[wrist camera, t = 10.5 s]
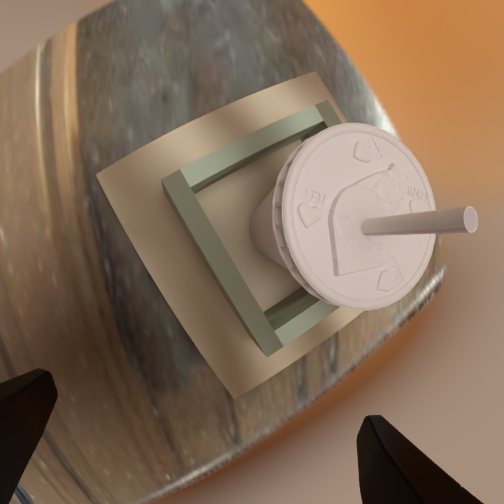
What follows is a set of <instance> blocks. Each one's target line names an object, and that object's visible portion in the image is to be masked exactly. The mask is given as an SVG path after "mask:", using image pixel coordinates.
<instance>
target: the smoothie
mask: <svg viewBox="0 0 504 504" xmlns="http://www.w3.org/2000/svg"><path fill="white" fill-rule="evenodd" d="M477 225H478V217H477V213H476V211H475V209H474V208H473V207H470V206H469V207H461V208H452V209H443V210H436V208H435V202H434V198H433V193H432V190H431V187H430V184H429V181H428V179H427V176H426V174H425V173H424V171H423V169H422V167H421V165H420V164H419V162H418V161H417V159H416V158H415V156H414V155H413V154H412V153H411V151H410V150H409V149H408V148H407V147H406V146H405V145H404V144H403V143H402V142H400V141H399V140H398V139H397V138H395V137H394V136H392V135H391V134H389V133H388V132H386V131H384V130H382V129H380V128H377V127H374V126H371V125H367V124H362V123H344V124H339V125H335V126H332V127H329V128H327V129H325V130H323V131H321V132H319V133H318V134H316V135H314V136H312V137H310V138H308V139H306V140H304V141H303V142H302V143H301V144H300V145H299V146H298V147H297V148H296V149H295V150H294V151H293V152H292V153H291V154H290V155H289V157H288V159H287V160H286V162H285V164H284V166H283V167H282V169H281V171H280V173H279V175H278V177H277V181H276V186H275V187H274V188H273V189H272V191H271V192H270V193H269V194H268V195H267V196H266V198H265V199H264V200H263V201H262V202H261V204H260V205H259V206H258V207H257V208H256V210H255V211H254V213H253V215H252V217H251V221H250V235H251V238H252V241H253V243H254V245H255V246H256V248H257V249H258V250H259V251H260V252H261V253H263V254H264V255H266V256H267V257H269V258H270V259H272V260H274V261H275V262H277V263H278V264H280V265H282V266H283V267H285V268H286V269H288V270H289V271H290V273H291V275H292V276H293V277H294V278H295V279H296V280H297V281H298V282H299V283H300V284H301V285H302V286H303V287H304V288H305V289H306V290H307V292H308V293H310V294H311V295H313V296H315V297H317V298H319V299H320V300H322V301H324V302H326V303H328V304H330V305H335V306H340V307H344V308H348V309H352V310H375V309H379V308H383V307H386V306H388V305H390V304H392V303H394V302H396V301H398V300H399V299H401V298H402V297H403V296H405V295H406V294H407V293H408V292H409V291H410V290H411V289H412V288H413V287H414V286H415V285H416V283H417V282H418V281H419V279H420V278H421V276H422V275H423V273H424V271H425V269H426V267H427V265H428V263H429V260H430V257H431V255H432V251H433V247H434V242H435V236H436V234H442V233H472V232H474V231H475V230H476V228H477Z"/></svg>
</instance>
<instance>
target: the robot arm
mask: <svg viewBox="0 0 504 504" xmlns="http://www.w3.org/2000/svg"><path fill="white" fill-rule="evenodd" d="M57 397H58V393H57V389H56V386H55V383H54V380H53V376H52V374H51V373H50V372H49V371H47V370H44V369H40V368H39V369H36V370H33V371H31V372H28V373H25V374H23V375H20V376H18V377H15V378H13V379H10V380H7V381H5V382H2V383H0V504H9V502H10V500H11V498H12V496H13V493H14V491H15V489H16V487H17V485H18V483H19V481H20V478H21V476H22V474H23V472H24V470H25V468H26V466H27V464H28V462H29V460H30V458H31V456H32V454H33V452H34V450H35V448H36V446H37V445H38V443H39V441H40V439H41V437H42V434H43V432H44V430H45V427H46V425H47V422H48V420H49V417H50V415H51V412H52V410H53V408H54V405H55V403H56V400H57ZM357 455H358V469H359V484H360V492H361V497H362V503H363V504H484V503H482V502H481V501H480V500H478V499H477V498H476V497H475V496H473V495H472V494H471V493H470V492H468V491H467V490H466V489H465V488H463V487H461V485H460V484H459V483H457V482H456V481H455V480H454V479H453V478H452V477H450V476H449V475H448V474H447V473H446V472H445V471H443V470H442V469H441V468H440V467H439V466H438V465H437V464H435V463H434V462H433V461H432V460H431V459H430V458H428V457H427V456H426V455H425V454H424V453H423V452H422V451H421V450H419V449H418V448H417V447H416V446H415V445H414V444H413V443H411V442H410V441H409V440H408V439H407V438H406V437H405V436H404V435H403V434H401V433H400V432H399V431H398V430H397V429H396V428H395V427H394V426H392V425H391V424H390V423H389V422H388V421H387V420H386V419H385V418H384V417H382V416H381V415H368V416H366V417H365V418H364V421H363V423H362V425H361V428H360V430H359V433H358V435H357Z"/></svg>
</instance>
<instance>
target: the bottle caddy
mask: <svg viewBox="0 0 504 504" xmlns="http://www.w3.org/2000/svg"><path fill="white" fill-rule="evenodd" d="M344 123H347V121H346V119H345V117H344V116H343V114H342V112H341V111H340V109H339V107H338V106H337V104H336V103H335V101H334V99H333V98H332V96H331V95H330V93H329V91H328V90H327V88H326V87H325V85H324V84H323V82H322V80H321V79H320V77H319V76H318V74H317V73H316V71H314V72H311V73H308V74H305V75H303V76H300V77H297V78H294V79H291V80H288V81H286V82H283V83H280V84H278V85H275V86H272V87H270V88H267V89H264V90H262V91H259V92H257V93H254V94H252V95H249V96H247V97H245V98H242V99H240V100H238V101H235V102H233V103H231V104H228V105H226V106H224V107H221V108H219V109H217V110H215V111H213V112H210V113H208V114H206V115H204V116H202V117H200V118H198V119H196V120H193V121H191V122H189V123H187V124H185V125H183V126H181V127H179V128H177V129H175V130H173V131H171V132H169V133H168V134H166V135H164V136H162V137H160V138H158V139H156V140H154V141H152V142H151V143H149V144H147V145H145V146H143V147H141V148H140V149H138V150H136V151H134V152H133V153H131V154H129V155H127V156H126V157H124V158H122V159H120V160H119V161H117V162H115V163H114V164H112V165H110V166H109V167H107V168H105V169H104V170H102V171H101V172H99V173H97V174H96V176H97V178H98V180H99V182H100V184H101V186H102V188H103V190H104V192H105V194H106V196H107V198H108V200H109V202H110V204H111V206H112V208H113V210H114V212H115V213H116V215H117V217H118V219H119V221H120V223H121V225H122V226H123V228H124V230H125V232H126V234H127V235H128V237H129V239H130V241H131V243H132V244H133V246H134V248H135V250H136V251H137V253H138V255H139V256H140V258H141V260H142V262H143V263H144V265H145V267H146V268H147V270H148V272H149V273H150V275H151V277H152V278H153V280H154V282H155V283H156V285H157V287H158V288H159V290H160V292H161V293H162V295H163V296H164V298H165V300H166V301H167V303H168V304H169V306H170V307H171V309H172V311H173V312H174V314H175V315H176V317H177V318H178V320H179V321H180V323H181V325H182V326H183V328H184V329H185V331H186V332H187V334H188V335H189V337H190V338H191V340H192V341H193V343H194V344H195V345H196V347H197V348H198V350H199V351H200V353H201V354H202V356H203V357H204V359H205V360H206V361H207V363H208V364H209V366H210V367H211V368H212V370H213V371H214V373H215V374H216V375H217V377H218V378H219V380H220V381H221V382H222V384H223V385H224V386H225V388H226V389H227V391H228V392H229V393H230V395H231V396H232V397H233V399H234V400H235V399H237V398H238V397H240V396H242V395H243V394H245V393H247V392H248V391H250V390H252V389H253V388H255V387H256V386H258V385H260V384H261V383H263V382H264V381H266V380H267V379H269V378H271V377H272V376H274V375H275V374H277V373H278V372H280V371H281V370H283V369H284V368H286V367H287V366H289V365H290V364H292V363H293V362H295V361H296V360H298V359H299V358H301V357H302V356H303V355H305V354H306V353H308V352H309V351H311V350H312V349H313V348H315V347H316V346H318V345H319V344H320V343H322V342H323V341H325V340H326V339H327V338H329V337H330V336H332V335H333V334H334V333H336V332H337V331H338V330H340V329H341V328H342V327H344V326H345V325H346V324H348V323H349V322H350V321H352V320H353V319H354V318H356V317H357V316H358V315H359V314H361V313H362V312H363V311H365V310H352V309H348V308H344V307H340V306H335V305H330V304H328V303H326V302H324V301H322V300H320V299H319V298H317V297H315V296H313V295H311V294H310V293H308V292H307V290H306V289H305V288H304V287H303V286H302V285H301V284H300V283H299V282H298V281H297V280H296V279H295V278H294V277H293V276H292V275H291V273H290V271H289V270H288V269H286V268H285V267H283V266H282V265H280V264H278V263H277V262H275V261H274V260H272V259H270V258H269V257H267V256H266V255H264V254H263V253H261V252H260V251H259V250H258V249H257V248H256V246H255V245H254V243H253V241H252V238H251V235H250V221H251V217H252V215H253V213H254V211H255V210H256V208H257V207H258V206H259V205H260V204H261V202H262V201H263V200H264V199H265V198H266V196H267V195H268V194H269V193H270V192H271V191H272V189H273V188H274V187H275V186H276V181H277V177H278V175H279V173H280V171H281V169H282V167H283V166H284V164H285V162H286V160H287V159H288V157H289V155H290V154H291V153H292V152H293V151H294V150H295V149H296V148H297V147H298V146H299V145H300V144H301V143H302V142H303V141H304V140H306V139H308V138H310V137H312V136H314V135H316V134H318V133H319V132H321V131H323V130H325V129H327V128H329V127H332V126H335V125H339V124H344Z"/></svg>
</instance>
